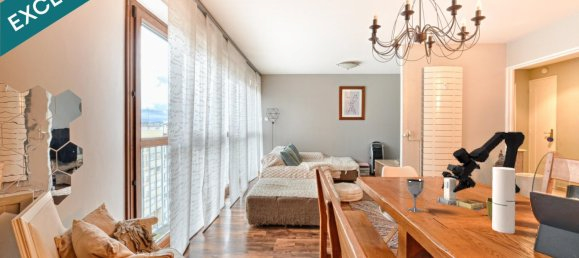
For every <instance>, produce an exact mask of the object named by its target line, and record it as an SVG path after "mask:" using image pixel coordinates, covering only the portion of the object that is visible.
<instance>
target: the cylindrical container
mask: <svg viewBox="0 0 579 258" xmlns="http://www.w3.org/2000/svg"><path fill="white" fill-rule="evenodd" d="M515 179H516V168H514V169H513V168H506V167H503V166H494V167H492V197H491V198H492V221H491V223H492V224H491V225H492V226H491V227H492V230H494V231H495V232H497V233H498V232H499V233H502V234H508V235H509V234H515V233H516V203H515V201H516V193H515Z"/></svg>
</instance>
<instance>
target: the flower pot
mask: <svg viewBox="0 0 579 258" xmlns="http://www.w3.org/2000/svg"><path fill="white" fill-rule="evenodd" d="M485 203H486V211H487V212H486V213H487V216H488V218H489V219H490V221H491V222H492V197H488V196H487V197H486V202H485Z"/></svg>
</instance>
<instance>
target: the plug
mask: <svg viewBox="0 0 579 258" xmlns="http://www.w3.org/2000/svg"><path fill="white" fill-rule="evenodd" d="M443 182H444V189H443V197H444V199H447V200H456V199H457V192H455V193H454V192H453V190H454V189H455V187H456V186H457V180H456V179H454V178H444V177H443Z"/></svg>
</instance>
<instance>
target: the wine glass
mask: <svg viewBox="0 0 579 258" xmlns="http://www.w3.org/2000/svg"><path fill="white" fill-rule="evenodd" d="M424 186H425V181H424V180H423V179H420V178H407V179H406V189H407V192H408V193H409V194H410V196H412V199H413V207H409V208H407V211H409V212H412V213H423V212H424V210H423V209H420V208H417V200H418V197H419V196H420V195H421V194H422V193H423V192H424Z"/></svg>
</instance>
